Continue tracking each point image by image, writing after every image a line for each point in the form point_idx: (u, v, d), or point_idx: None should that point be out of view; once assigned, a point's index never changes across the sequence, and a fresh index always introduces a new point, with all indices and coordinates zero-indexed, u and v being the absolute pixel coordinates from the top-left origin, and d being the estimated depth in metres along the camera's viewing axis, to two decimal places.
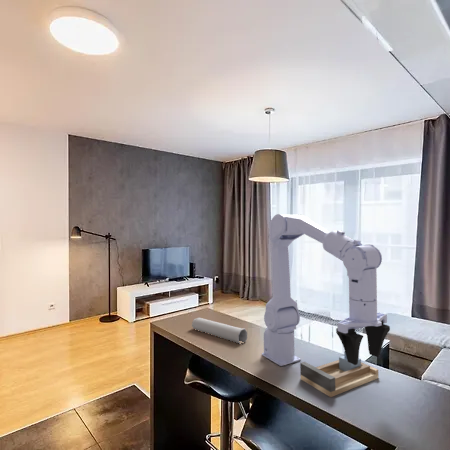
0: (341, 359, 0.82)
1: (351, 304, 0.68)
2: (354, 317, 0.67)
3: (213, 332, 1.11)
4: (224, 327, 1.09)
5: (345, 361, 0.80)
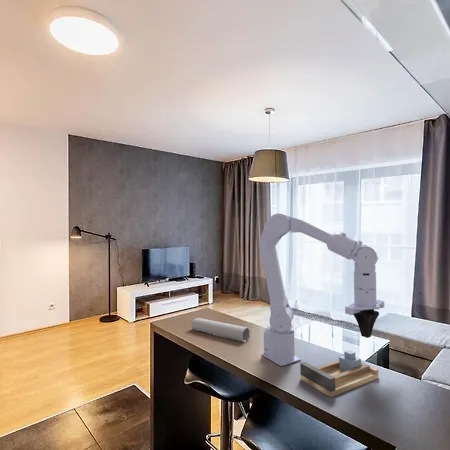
0: (341, 359, 0.82)
1: (356, 292, 0.85)
2: (358, 303, 0.84)
3: (215, 332, 1.11)
4: (226, 326, 1.10)
5: (345, 361, 0.80)
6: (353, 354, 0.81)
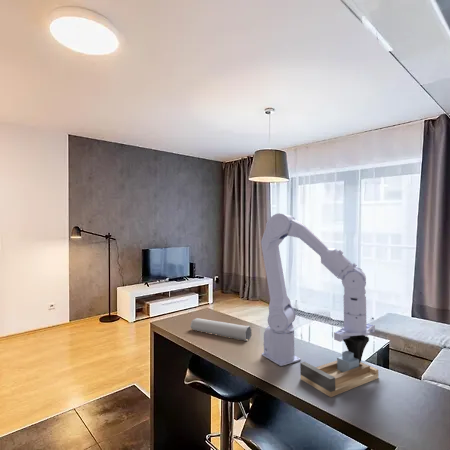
0: (339, 360, 0.81)
1: (345, 317, 0.82)
2: (348, 328, 0.81)
3: (216, 331, 1.12)
4: (228, 326, 1.10)
5: (343, 362, 0.80)
6: (351, 355, 0.81)
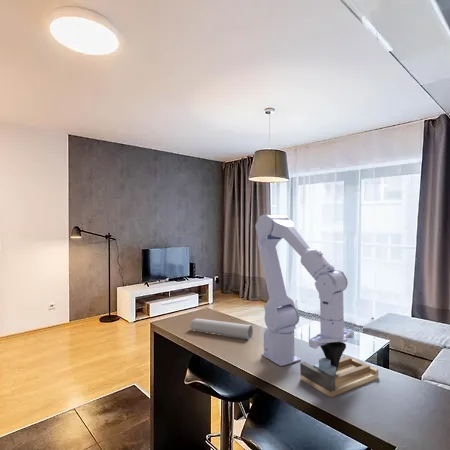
0: None
1: (321, 322, 0.78)
2: (324, 334, 0.77)
3: (217, 331, 1.12)
4: (229, 325, 1.11)
5: None
6: (328, 362, 0.76)
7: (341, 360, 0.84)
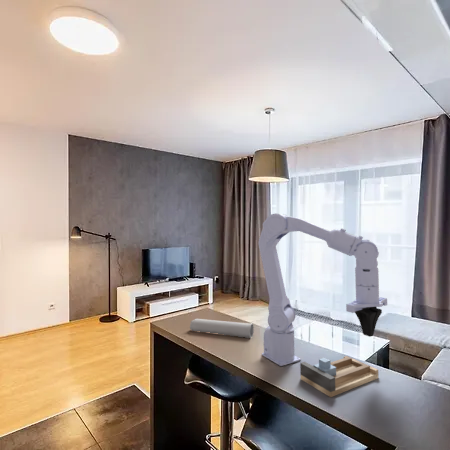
0: None
1: (357, 289, 0.81)
2: (360, 300, 0.80)
3: (219, 331, 1.13)
4: (231, 324, 1.12)
5: None
6: (328, 362, 0.76)
7: (341, 360, 0.84)
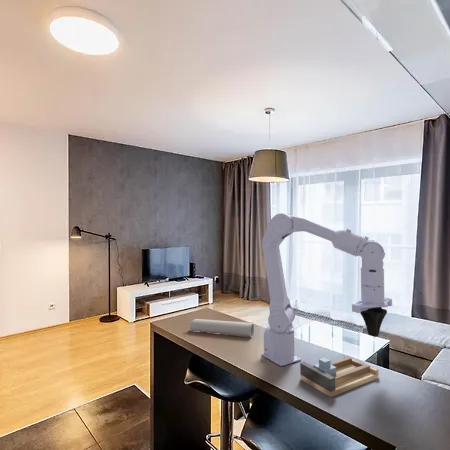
0: None
1: (363, 289, 0.82)
2: (366, 300, 0.81)
3: (219, 330, 1.13)
4: (231, 324, 1.12)
5: None
6: (328, 362, 0.76)
7: (341, 360, 0.84)
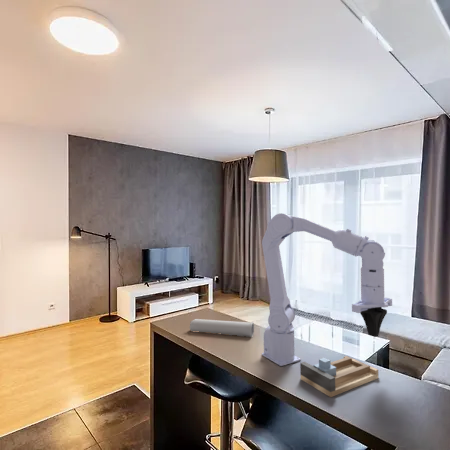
0: None
1: (363, 289, 0.82)
2: (366, 300, 0.81)
3: (220, 330, 1.13)
4: (232, 324, 1.13)
5: None
6: (328, 362, 0.76)
7: (341, 360, 0.84)
